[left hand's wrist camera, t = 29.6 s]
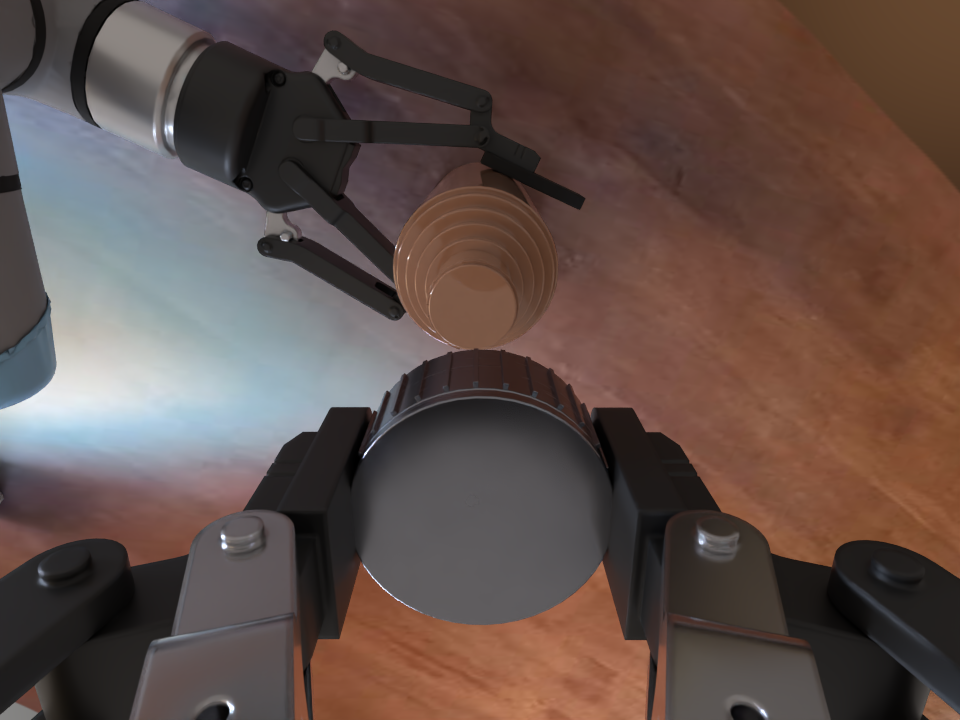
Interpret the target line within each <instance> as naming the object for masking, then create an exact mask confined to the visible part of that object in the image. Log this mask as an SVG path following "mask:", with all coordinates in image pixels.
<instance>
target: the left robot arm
mask: <svg viewBox="0 0 960 720" xmlns="http://www.w3.org/2000/svg"><path fill="white" fill-rule="evenodd" d="M371 416H372V412H371V409H370V407H332V408H330V410H329V412H328V414H327V416H326V417H325V419H324V421H323V423H322V425H321V427H320V429H319V431H318V432H302V433H301V434H299V435H298V436H296V437H295V438H293V439H292V440H290V441H289V442H287V443H286V444H285V445H284V446H283V447H282V449H281V450H280V452H279V454H278V455H277V457H276V459H275V462H274V463H272V465H271V467H270V468H269V470H268V471H267V476H264V478H263V479H262V481H261V483H260V484H259V486H258V488H257V489H256V491H255V492H254V494H253V496H252V497H251V499H250V500H249V502H248V504H247V505H246V507H245V509H244V510H243V511H242V512H237V513H234V514H230V515H228V516H225V517H222V518H220V519H218V520H216V521H214V522H212V523H211V524H209V525H208V526H206V527H205V528H204V529H203V530H201V531H200V532H199V533H198V534H197V535H196V537H195V538H194V540H193V542H192V544H191V548H190V552H189V554H188V555H184V556H181V557H177V558H172V559H168V560H163V561H158V562H153V563H148V564H143V565H138V566H133V567H131V566H130V562H129V558H128V554H127V551H126V548H125V547H124V546H123V545H122V544H120V543H118V542H116V541H113V540H108V539H85V540H79V541H74V542H70V543H66V544H63V545H60V546H57V547H55V548H52V549H50V550H47V551H45V552H43V553H41V554H39V555H37V556H35V557H34V558H32V559H30V560H29V561H27V562H25V563H24V564H22V565H21V566H19V567H18V568H16V569H15V570H13V571H12V572H10V573H9V574H7V575H6V576H4V577H3V578H1V579H0V714H1V713H3V712H4V711H5V710H6V709H7V708H8V707H10V706H11V705H12V704H13V703H14V702H15V701H17V700H18V699H19V698H20V697H21V696H23V695H24V694H25V693H26V692H27V691H28V690H30V689H31V688H32V687H33V686H34V685H35V688H36V691H37V694H38V697H39V700H40V703H41V706H42V709H43V710H41V711H40V712H39V713H38V714H37V715H36V716H35V717H34V718H33V719H31V720H315V710H314V692H313V674H312V666H311V658H312V656H313V652H314V649H315V646H316V643H317V640H318V639H339V638H340V635H341V631H342V627H343V624H344V620H345V617H346V613H347V609H348V606H349V602H350V598H351V595H352V591H353V587H354V584H355V580H356V576H357V573H358V569H359V566H360V562H361V560H360V558H359V556H358V554H357V553H356V548H355V537H354V525H353V514H352V502H351V488H350V486H351V481H352V477H353V474H354V472H355V469H356V466H357V464H358V461H359V458H360V457H359V456H357V454H358V451H359V448H360V446H361V443H362V440H363V438H364V435H365V432H366V430H367V427H368V424H369V422H370V419H371ZM591 420H592V423H593V426H594V428H595V431H596V433H597V436H598V439H599V441H600V444H601V449H602V451H603V454H604V457H605V459H606V462H607V465H608V473H609V476H610V479H611V481H612V484H613V497H612V508H611V520H610V531H609V543H608V549H607V551H606V554H605V556H604V558H603V560H602V561H603V564H604V568H605V571H606V575H607V578H608V582H609V585H610V589H611V593H612V596H613V600H614V603H615V607H616V610H617V614H618V617H619V621H620V624H621V628H622V632H623V635H624V639H625V640H647V642H648V645H649V649H650V658H649V665H648V674H647V692H646V710H645V720H929V719H927V718H926V717H925V716H924V715H923V714H922V713H923V710H924V707H925V704H926V701H927V698H928V695H929V692H930V690H932V691H933V692H934V693H935V694H936V695H937V696H939V697H940V698H941V699H942V700H943V701H945V702H946V703H947V704H948V705H949V706H950V707H952V708H953V709H954V710H955V711H956V712H957V713H959V714H960V579H959V578H957V577H956V576H954V575H953V574H951V573H950V572H948V571H947V570H945V569H944V568H942V567H941V566H939V565H938V564H936V563H935V562H933V561H931V560H930V559H928V558H926V557H924V556H922V555H920V554H918V553H916V552H914V551H911V550H909V549H906V548H903V547H900V546H897V545H893V544H889V543H885V542H879V541H870V540H858V541H851V542H848V543H845V544H843V545H842V546H840V547H839V548H838V549H837V551H836V553H835V557H834V561H833V565H832V567H828V566H823V565H818V564H813V563H808V562H803V561H798V560H793V559H789V558H785V557H781V556H778V555H775V554H772V553H771V552H770V548H769V544H768V542H767V540H766V538H765V537H764V535H763V534H762V533H761V532H760V531H759V530H757V529H756V528H755V527H754V526H752V525H751V524H749V523H748V522H746V521H744V520H742V519H740V518H738V517H735V516H732V515H730V514H726V513H723V512H721V510H720V509H719V507H718V505H717V504H716V502H715V501H714V499H713V498H712V496H711V494H710V493H709V491H708V490H707V488H706V486H705V485H704V483H703V482H702V480H701V478H700V477H699V476H697V472H696V471H695V469H694V467H693V466H692V464H689V459H688V458H687V456H686V455H685V453H684V451H683V450H682V448H681V447H680V445H678V444H677V443H675V442H674V441H672V440H671V439H670V438H668V437H667V436H665V435H664V434H662V433H661V432H645V430H644V428H643V426H642V424H641V422H640V421H639V419H638V417H637V415H636V413H635V411H634V410H633V408H593V410H592V413H591Z"/></svg>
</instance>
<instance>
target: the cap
mask: <svg viewBox="0 0 960 720" xmlns="http://www.w3.org/2000/svg"><path fill="white" fill-rule="evenodd" d="M357 456H359V457H360V458H359V461H358V464H357V466H356V469H355V472H354V474H353V477H352V481H351V486H350V488H351V502H352V514H353V525H354V537H355V548H356V553H357V554H358V556H359V558H360V560H361V562H362V564H363V565H364V567H365V568H366V570H367V571H368V572H369V574H370V575H371V576H372V578H373V579H374V580H375V581H376V582H377V583H378V584H379V585H380V586H381V587H382V588H383V589H384V590H385V591H387V592H388V593H389V594H390V595H392V596H393V597H394V598H395V599H397V600H399V601H400V602H402V603H403V604H405V605H407V606H408V607H410V608H412V609H414V610H417V611H419V612H421V613H423V614H426V615H429V616H431V617H434V618H437V619H441V620H445V621H450V622H454V623H462V624H472V625H490V624H502V623H508V622H513V621H518V620H521V619H525V618H528V617H532V616H534V615H537V614H539V613H542V612H544V611H546V610H549V609H550V608H552V607H554V606H556V605H558V604H559V603H561V602H563V601H564V600H565V599H567V598H568V597H570V596H571V595H572V594H574V593H575V592H576V591H577V590H578V589H579V588H580V587H581V586H583V585H584V584H585V583H586V582H587V580H588V579H589V578H590V577H591V576H592V574H593V573H594V572H595V571H596V569H597V568H598V566H599V564H600V563H601V561H602V560H603V558H604V556H605V554H606V551H607V549H608V543H609V531H610V520H611V508H612V497H613V484H612V481H611V479H610V476H609V473H608V465H607V462H606V459H605V457H604V454H603V451H602V449H601V444H600V441H599V439H598V436H597V433H596V431H595V428H594V426H593V423H592V420H591V418H590V415H589V412H588V410H587V407H586V405H585V403H583V404H581V402H580V400H579V399H578V398H577V396H576V395H575V394H574V391H573V388H572V386H571V385H570V384H568V385H567V384H566V383H565V382H564V381H563V380H562V379H561V378H559V377H558V376H557V375H555V374H554V371H553V370H552V369H551V368H549V369H547V368H545V367H544V366H542V365H540V364H539V363H537V362H535V361H532V360H531V358H530V357H527V356H526V358H525V357H523V356H519V355H516V354H512V353H509V352H505V350H501V351H496V350H479V348H474V350H467V351H459V352H455V353H452V352H448V353H447V354H446V355H443V356H440V357H438V358H435V359H432V360H430V361H427V360H426V361H424V362H423V364H422V365H420V366H418V367H417V368H415V369H414V370H412V371H411V372H410V373H408V374H407V375H406V374H405V373H404V374H403V375H402V376H401V379H400V381H399V382H398V383H397V384H395V386H394V387H393V388H392V389H391V390H390V392H389V391H386V392H385V394H384V396H383V399H382V402H381V405H380V406H379V408H378V410H377V411H374V412H373V414H372V416H371V419H370V422H369V424H368V427H367V430H366V432H365V435H364V438H363V440H362V443H361V446H360V448H359V451H358V454H357Z"/></svg>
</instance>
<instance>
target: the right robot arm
mask: <svg viewBox="0 0 960 720" xmlns="http://www.w3.org/2000/svg"><path fill="white" fill-rule="evenodd" d="M324 46H325V50H324V51H323V53H322V55H321V57H320V58H319V60H318V62H317V63H316V65H315V67H314V69H313V70H312V72H309V71H305V72H292V71H289V70H287V69H285V68H283V67H280V66H278V65H276V64H274V63H272V62H270V61H268V60H266V59H263V58H261V57H259V56H257V55H255V54H253V53H251V52H249V51H246V50H244V49H242V48H240V47H238V46H236V45H234V44H232V43H229V42H227V41H221V42H218V43H216V41H215V39H214V38H213V37H212V35H211V34H210V33H208V32H206V31H204V30H202V29H199V28H197V27H195V26H193V25H191V24H189V23H187V22H185V21H183V20H181V19H178V18H176V17H174V16H172V15H170V14H168V13H166V12H164V11H162V10H160V9H157V8H155V7H153V6H151V5H149V4H147V3H145V2H143V1H139V0H0V409H3V408H6V407H9V406H12V405H15V404H17V403H19V402H21V401H24V400H26V399H28V398H30V397H32V396H33V395H35V394H36V393H38V392H39V391H40V390H42V389H43V388H44V387H45V386H46V385H47V384H48V383H49V382H50V381H51V379H52V377H53V375H54V374H55V369H56V356H55V348H54V341H53V333H52V326H51V318H50V313H51V306H50V303H51V301H50V299H49V297H48V296H47V293H46V292H45V290H44V285H43V281H42V277H41V273H40V268H39V264H38V260H37V256H36V252H35V247H34V243H33V239H32V235H31V230H30V226H29V222H28V218H27V213H26V209H25V205H24V201H23V197H22V192H21V189H22V188H21V183H20V179H19V172H18V167H17V162H16V157H15V152H14V148H13V143H12V138H11V133H10V128H9V123H8V119H7V114H6V109H5V104H4V99H3V95H17V96H22V97H25V98H29V99H32V100H35V101H37V102H40V103H42V104H45V105H47V106H50V107H52V108H55V109H57V110H59V111H62V112H64V113H67V114H69V115H71V116H74V117H76V118H79V119H81V120H83V121H86V122H88V123H90V124H92V125H94V126H97V127H99V128H101V129H103V130H106V131H108V132H110V133H112V134H114V135H116V136H119V137H121V138H123V139H125V140H127V141H130V142H132V143H134V144H136V145H138V146H141V147H143V148H145V149H147V150H150V151H152V152H154V153H156V154H158V155H161V156H163V157H165V158H168V159H175V158H178V157H179V158H180V160H181V162H182V163H183V164H184V165H185V166H186V167H189V168H191V169H193V170H195V171H198V172H200V173H202V174H205V175H207V176H209V177H211V178H214V179H216V180H218V181H221V182H223V183H225V184H227V185H230V186H232V187H234V188H237V189H239V190H241V191H244V192H246V193H248V194H250V195H251V196H252V197H254V198H255V199H256V200H257V201H258V202H259V204H260V205H261V206H262V207H263V208H264V209H265V210H267V213H266V223H265V234H264V237H263V238H261V239H260V240H259V241H258V244H257V249H258V251H259V252H260V253H261V254H262V255H263V256H266V257H270V258H275V259H280V260H284V261H289V262H293V263H295V264H297V265H298V266H300V267H302V268H304V269H305V270H307V271H309V272H310V273H312V274H314V275H315V276H317V277H319V278H321V279H322V280H324V281H326V282H327V283H329V284H331V285H332V286H334V287H336V288H338V289H339V290H341V291H343V292H344V293H346V294H348V295H349V296H351V297H353V298H354V299H356V300H358V301H360V302H361V303H363V304H365V305H366V306H368V307H370V308H371V309H373V310H375V311H377V312H378V313H380V314H382V315H383V316H385V317H387V318H388V319H391V320H399V319H400V318H401V317H402V316H403V314H404V313H405V312H406V310H405V309H404V307H403V305H402V303H401V301H400V299H399V296H398V293H397V291H396V290H395V289H394V288H392V287H390V286H389V285H387V284H385V283H384V282H382V281H380V280H379V279H377V278H375V277H374V276H372V275H370V274H369V273H367V272H365V271H364V270H362V269H360V268H359V267H357V266H355V265H354V264H352V263H350V262H349V261H347V260H345V259H344V258H342V257H340V256H339V255H337V254H335V253H334V252H332V251H330V250H329V249H327V248H325V247H324V246H322V245H320V244H319V243H317V242H315V241H313V240H311V239H308V238H306V237H302V232H301V230H300V228H299V227H298V226H297V225H295V224H293V223H291V222H290V221H289V219H288V217H287V212H291V211H296V210H301V209H305V208H310V207H312V208H313V209H314V210H315V211H316V212H318V213H319V214H320V215H321V216H322V217H323V218H324V219H325V220H326V221H327V222H328V223H330V224H331V225H334V226H335V227H336V228H337V229H338V230H339V231H340V232H341V233H342V234H343V235H344V236H345V237H346V238H347V239H349V240H350V241H351V242H352V243H353V244H354V245H355V246H356V247H357V248H358V249H359V250H360V251H361V252H362V253H363V254H364V255H365V256H366V257H367V258H368V259H369V260H370V261H371V262H372V263H373V264H374V265H375V266H376V267H377V268H378V269H380V270H381V271H382V272H383V273H384V274H385V275H386V276H387V277H388V278H389V279H390V280H391V281H392V282H393V283H394V284H395V282H394V276H393V258H394V252H395V246H394V245H393V244H392V243H391V242H390V241H389V240H388V239H387V238H386V237H385V236H384V235H383V234H382V233H381V232H380V231H379V230H378V229H377V228H376V227H375V226H374V225H373V224H372V223H371V222H370V221H369V220H368V219H367V218H366V217H365V216H364V215H363V214H362V213H361V212H360V211H359V210H358V209H357V208H356V207H355V206H354V204H353V202H352V201H351V200H350V199H349V198H348V197H347V196H346V195H345V194H344V191H345V188H346V185H347V183H348V175H349V167H350V166H351V164H352V163H353V162H354V160H355V159H356V157H357V155H358V152H359V149H360V147H361V145H360V144H359V143H384V144H407V145H429V146H452V147H475V148H479V149H482V150H484V151H485V153H484V155H483V157H482V160H481V164H483V165H485V166H487V167H489V168H491V169H494V170H496V171H498V172H500V173H502V174H504V175H506V176H508V177H511V178H513V179H515V180H517V181H519V182H521V183H523V184H525V185H528V186H530V187H532V188H534V189H536V190H538V191H540V192H542V193H545V194H547V195H549V196H551V197H553V198H555V199H557V200H559V201H562V202H564V203H566V204H568V205H570V206H572V207H574V208H576V209H579V210H580V209H581V207H582V205H583V203H584V201H585V199H586V198H584V197H583V196H581V195H580V194H578V193H576V192H574V191H572V190H569V189H567V188H565V187H563V186H561V185H559V184H557V183H555V182H553V181H550V180H548V179H546V178H544V177H542V176H540V175H538V174H536V173H534V172H535V169H536V167H537V165H538V163H539V161H540V157H539V156H538V154H537V153H536V152H535V151H533V150H531V149H529V148H527V147H525V146H523V145H521V144H519V143H517V142H515V141H512V140H510V139H508V138H506V137H504V136H502V135H500V134H498V133H497V132H495V130H494V129H493V127H492V125H491V112H492V97H491V95H490V93H489V92H487V91H486V90H483V89H480V88H477V87H473V86H470V85H467V84H464V83H461V82H458V81H454V80H451V79H448V78H445V77H442V76H439V75H435V74H432V73H429V72H426V71H423V70H419V69H416V68H413V67H410V66H407V65H404V64H400V63H397V62H394V61H391V60H388V59H385V58H381V57H378V56H375V55H372V54H369V53H367V52H365V51H364V50H363V49H362V48H360V47H359V46H358V45H356V44H355V43H354V42H352V41H351V40H350V39H349V38H347V37H346V36H344V35H343V34H341V33H340V32H338V31H330V32H328V33H327V34H326V35H325V37H324ZM358 74H361V75H363V76H365V77H367V78H369V79H372V80H375V81H377V82H380V83H384V84H387V85H390V86H393V87H397V88H400V89H403V90H406V91H409V92H413V93H416V94H419V95H422V96H425V97H429V98H432V99H435V100H438V101H442V102H445V103H448V104H451V105H454V106H458V107H461V108H464V109H467V110H470V111H471V115H470V125H454V124H432V123H409V122H387V121H365V120H351V119H350V117H349V115H348V114H347V112H346V110H345V109H344V107H343V105H342V104H341V102H340V100H339V99H338V97H337V95H336V94H335V92H334V90H333V89H332V87H331V85H330V83H331V82H332V81H333V80H334V79H338V78H339V79H343V80H346V81H353V80H354V79H355V78H356V77H357V76H358ZM2 94H3V95H2Z"/></svg>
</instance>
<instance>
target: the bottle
mask: <svg viewBox="0 0 960 720" xmlns="http://www.w3.org/2000/svg"><path fill="white" fill-rule="evenodd" d="M393 276H394V282H395V287H396V291H397V293H398V296H399V299H400V301H401V303H402V305H403V307H404V309H405V310H406V312H407V313H408V315H409V316H410V317H411V319H412V320H413V321H414V322H415V323H416V324H417V325H418V326H419V327H420V328H421V329H422V330H423V331H425V332H426V333H427V334H429V335H430V336H432V337H433V338H434V339H436V340H438V341H440V342H442V343H445V344H447V345H450V346H452V347H455V348H457V349H460V348H461V349H469V350H474V348H479V350H483V349H490V348H494V347H498V346H502V345H504V344H507V343H509V342H511V341H513V340H515V339H517V338H518V337H520V336H522V335H523V334H524V333H526V332H527V331H528V330H530V329H531V328H532V327H533V326H534V325H535V324H536V323H537V322H538V321H539V319H540V318H541V317H542V316H543V314H544V313H545V311H546V310H547V308H548V306H549V304H550V302H551V300H552V298H553V295H554V292H555V289H556V285H557V279H558V257H557V251H556V247H555V243H554V241H553V238H552V236H551V233H550V231H549V230H548V228H547V226H546V224H545V222H544V221H543V219H542V217H541V216H540V214H539V212H538V211H537V209H536V207H535V205H534V204H533V202H532V200H531V199H530V197H529V195H528V194H527V192H526V190H525V189H524V187H523V185H522V184H521V183H520V182H519V181H517V180H515V179H513V178H511V177H508V176H506V175H504V174H502V173H500V172H498V171H496V170H494V169H491V168H489V167H487V166H485V165H483V164H481V162H474V163H468V164H465V165H462V166H460V167H457V168H455V169H454V170H452V171H451V172H449V173H448V174H447V175H446V176H445V177H444V178H443V179H442V180H441V181H440V182H439V183H438V185H437V186H436V187H435V188H434V189H433V191H432V192H431V193H430V194H429V195H428V196H427V198H426V199H425V200H424V201H423V202H422V204H421V205H420V206H419V207H418V208H417V210H416V211H415V212H414V213H413V214H412V216H411V217H410V218H409V220H408V221H407V223H406V224H405V225H404V227H403V229H402V231H401V233H400V235H399V238H398V241H397V244H396V247H395V252H394V258H393Z"/></svg>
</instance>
